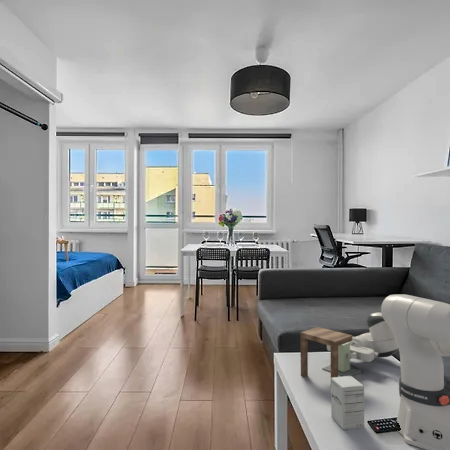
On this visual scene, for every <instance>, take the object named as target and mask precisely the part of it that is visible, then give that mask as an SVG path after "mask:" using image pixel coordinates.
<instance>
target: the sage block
mask: <svg viewBox="0 0 450 450" xmlns="http://www.w3.org/2000/svg"><path fill="white" fill-rule="evenodd" d="M348 353H349V354H350V343H349V342H347V343H345V344H342V345H339V346H338V371H341V372H345V371H347V370H349V369H350V367H351V359H347V358H346V354H348Z"/></svg>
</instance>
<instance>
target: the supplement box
mask: <svg viewBox="0 0 450 450" xmlns="http://www.w3.org/2000/svg"><path fill="white" fill-rule="evenodd" d="M330 389H331V391H330V395H331V396H330V399H331V400H330V401H331V407H330V409H331V410H330V412H331V416H330V417H331V418H332V419H333V420H334V421H335V422H336V423H337V424H338V425H339V427H340V428H341V429H342V430H351V429H357V428H365V385H364V384H362V383H361V382H360V381H358V380H357V379H356V378H355V377H353V376H338V377H333V378H331V377H330Z"/></svg>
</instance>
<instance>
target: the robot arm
mask: <svg viewBox="0 0 450 450" xmlns="http://www.w3.org/2000/svg"><path fill="white" fill-rule="evenodd" d="M380 311H381V312H373V313H370V314H369V315H368V316H367V318H366V325H367V327H368V330H369V332H365V333H362V334H360V335H357V336H352V341H350V342H349V343H350V354H349V353H348V354H346V358H347V359H350V360H352V359H353V360H354V359H356V360H358V361H361V362H365V363H371V362H373V361H374V360H375V357H377V358H388V357H391V356H394V355H395V354H396V353H397V352H399V358H400V359H399V360H400V361H399V362H400V378H399V381H398V393H399V397H400V399H399V400H400V401H399V408H398V414H397V418H396V421H398V423H399V425H400V428H401V430H400V431H398V433H400V434H401V436H402V437H403V440H404V441H405V443H406V444H409V445H411V446H415V447H418V448H420V449H423V450H450V391H449V389H448V388H447V387H446V386H445V375H444V359H443V357H450V303H446V302H444V301H438V300H433V299H430V298H424V297H419V296H416V295H415V296H414V295H410V294H405V293H403V294H401V293H400V294H399V293H398V294H396V293H395V294H389V295H388V296H386V297H385V298H384V299H383V301H382V303H381V306H380ZM326 350H327V351H328V352H331V349H330V346H329V345H326Z"/></svg>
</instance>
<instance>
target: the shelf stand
mask: <svg viewBox="0 0 450 450" xmlns="http://www.w3.org/2000/svg"><path fill="white" fill-rule="evenodd" d="M299 337H300V345H299V346H300V376H301V377H303V378H306V377H308V374H309V372H308V371H309V370H308V369H309V368H308V367H309V361H308V360H309V358H308V357H309V352H308V350H309V349H308V347H309V346H308V343H309V342H308V341H309V340H310V341H313V342H316V343H319V344H322V345H326V346H327V345H329V346H330V349H331V351H330V365H331V372H330V379H331V378H333V377H339V375H338V346H339V345H342V344H345V343H347V342H350V341H352V337H353V335H352V334H349V333H345V332H340V331H336V330H332V329H328V328H324V327H320V326H317V327H313V328H310V329H307V330H303V331H301V332H300V336H299Z"/></svg>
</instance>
